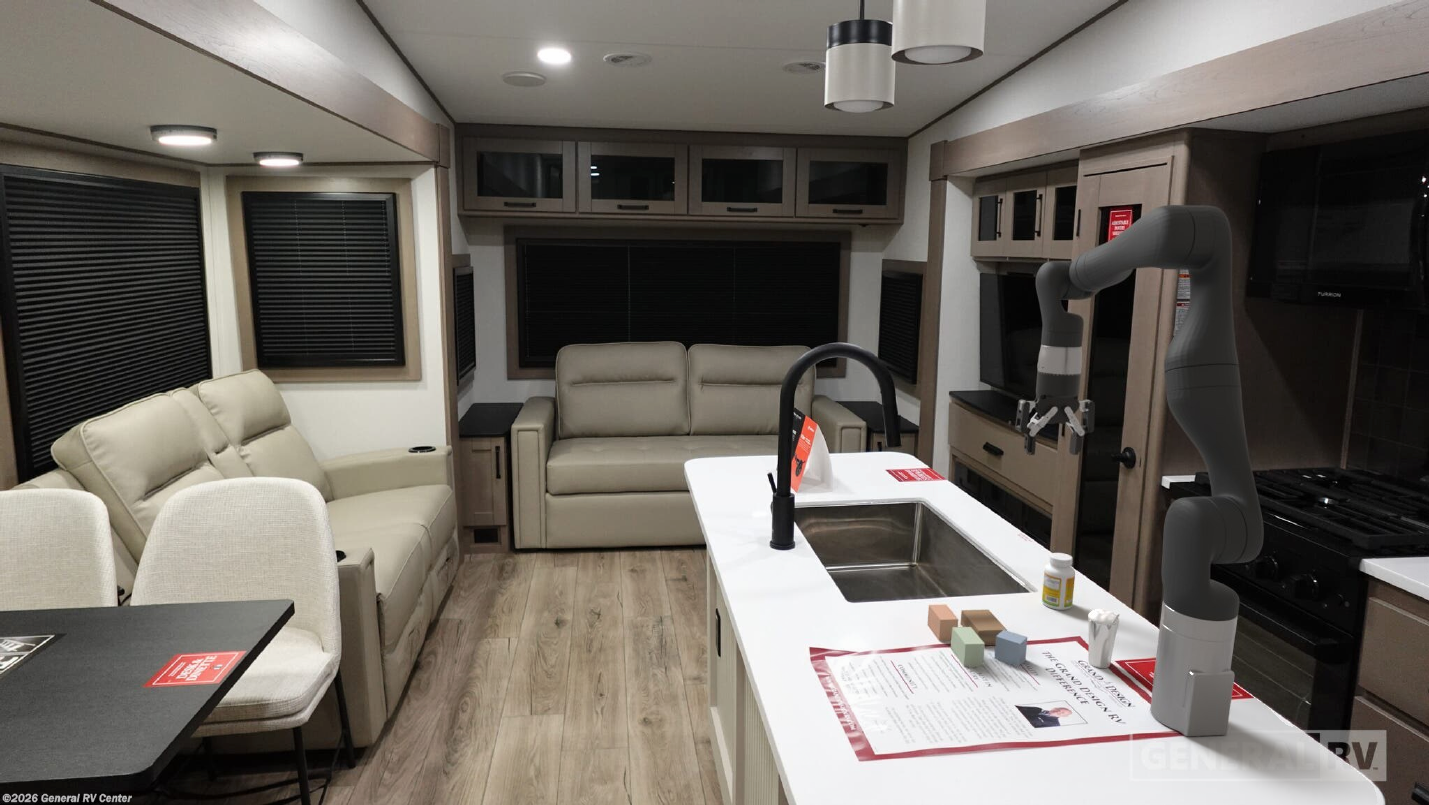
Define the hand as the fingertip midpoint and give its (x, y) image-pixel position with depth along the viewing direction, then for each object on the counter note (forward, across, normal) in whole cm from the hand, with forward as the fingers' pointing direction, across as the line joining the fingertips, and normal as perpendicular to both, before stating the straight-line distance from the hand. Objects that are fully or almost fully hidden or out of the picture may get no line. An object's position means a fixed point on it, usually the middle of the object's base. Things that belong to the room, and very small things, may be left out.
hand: (1052, 454), depth 159 cm
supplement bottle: (+28, +1, -4) cm, 29 cm away
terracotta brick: (+28, -25, -15) cm, 41 cm away
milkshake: (+29, -3, -28) cm, 40 cm away
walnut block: (+29, -18, -16) cm, 37 cm away
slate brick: (+29, -17, -25) cm, 41 cm away
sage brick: (+29, -24, -24) cm, 44 cm away
